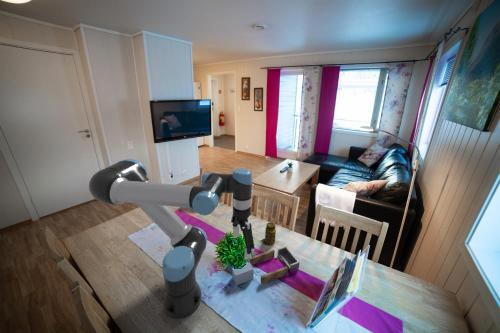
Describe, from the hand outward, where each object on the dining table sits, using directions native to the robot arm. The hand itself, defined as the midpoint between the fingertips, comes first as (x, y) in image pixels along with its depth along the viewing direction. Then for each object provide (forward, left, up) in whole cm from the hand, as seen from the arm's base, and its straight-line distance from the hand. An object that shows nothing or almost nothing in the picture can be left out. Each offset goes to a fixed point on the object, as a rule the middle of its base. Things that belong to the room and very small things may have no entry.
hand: (241, 247), depth 91 cm
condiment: (+24, +17, -19) cm, 35 cm away
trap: (+26, 0, -18) cm, 32 cm away
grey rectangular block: (+1, 0, -18) cm, 18 cm away
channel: (+14, 0, -18) cm, 23 cm away
